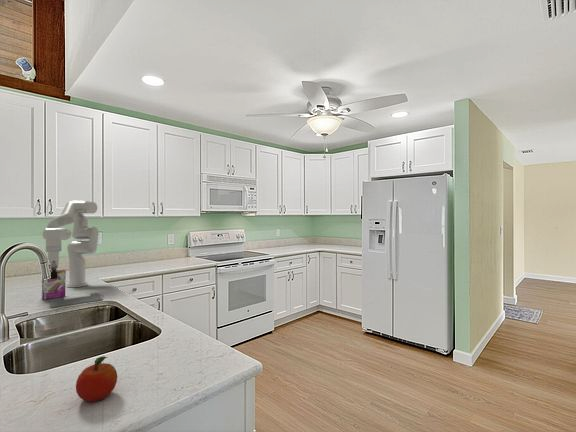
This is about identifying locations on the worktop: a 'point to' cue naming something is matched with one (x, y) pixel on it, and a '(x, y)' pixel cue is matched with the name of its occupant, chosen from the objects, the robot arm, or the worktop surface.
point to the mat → (74, 300)
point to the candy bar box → (54, 286)
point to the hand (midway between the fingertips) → (53, 277)
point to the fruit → (96, 381)
